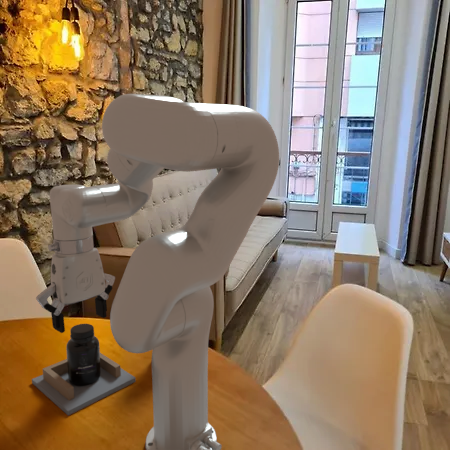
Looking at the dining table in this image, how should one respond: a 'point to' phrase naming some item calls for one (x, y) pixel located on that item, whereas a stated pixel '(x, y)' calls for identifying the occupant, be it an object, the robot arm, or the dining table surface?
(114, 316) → the robot arm
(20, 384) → the dining table surface
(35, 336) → the dining table surface
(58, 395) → the bottle stand
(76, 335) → the supplement bottle
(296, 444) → the dining table surface
